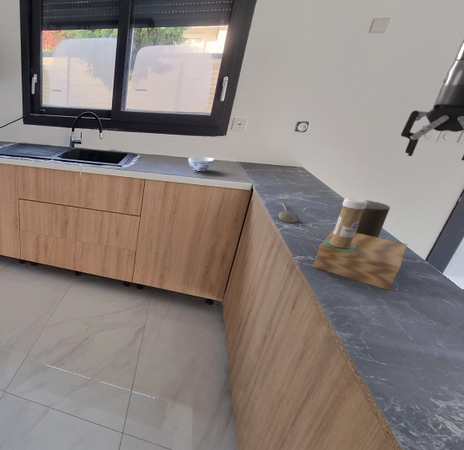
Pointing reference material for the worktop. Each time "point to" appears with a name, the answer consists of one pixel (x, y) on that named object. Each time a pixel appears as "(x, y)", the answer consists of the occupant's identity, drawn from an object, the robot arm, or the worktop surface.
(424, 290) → the worktop surface
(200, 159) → the chinaware
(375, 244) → the labeled wooden box
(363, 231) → the pillar candle
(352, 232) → the sprinkles bottle
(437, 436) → the worktop surface
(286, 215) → the soupspoon
